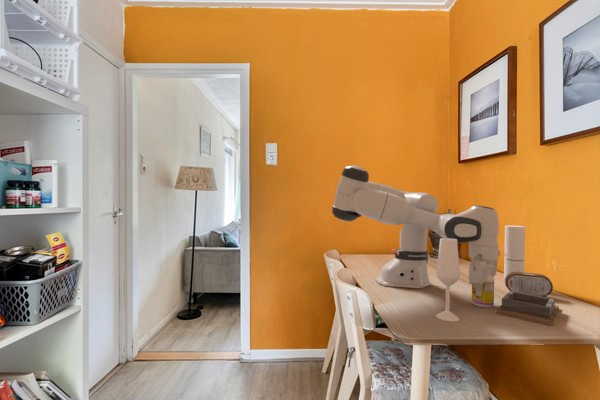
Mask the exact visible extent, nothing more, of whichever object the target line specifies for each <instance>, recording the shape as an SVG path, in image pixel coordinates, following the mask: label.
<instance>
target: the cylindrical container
mask: <svg viewBox="0 0 600 400" xmlns="http://www.w3.org/2000/svg"><path fill="white" fill-rule="evenodd" d="M525 241H526V226H524V225H523V226H522V225H509V224H508V225H505V226H504V261H503V262H504V264H503V265H504V266H503V267H504V269H503V283H504V285H505V278H506V276H507V275H508V274H509V273H511V272H524V273H525V259H526V258H525V252H526V251H525V247H526V245H525V244H526V242H525Z"/></svg>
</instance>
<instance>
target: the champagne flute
mask: <svg viewBox="0 0 600 400" xmlns="http://www.w3.org/2000/svg"><path fill="white" fill-rule="evenodd" d="M458 248H459V247H458V243H457V239H451V238H441V237H440V239H439V246H438V255H437V262H436V263H437V264H436V271H435V272H436V277H437V279H438V280H439V281H440V282H441V283H442V284H443V285H445V309H444V310H443V311H440V312H438V313H436V314H435V316H436V318H437V319H440V320H442V321H446V322H458V321H460V318H459V317H458V316H457V315H456V314H455V313H453V312H452V311H450V309H451V307H450V305H451V304H450V302H451V301H450V300H451V286H453V285H454V284H455V283H457V282H458V281H459V280H460V278H461V272H460V271H461V269H460V258H459V249H458Z"/></svg>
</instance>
